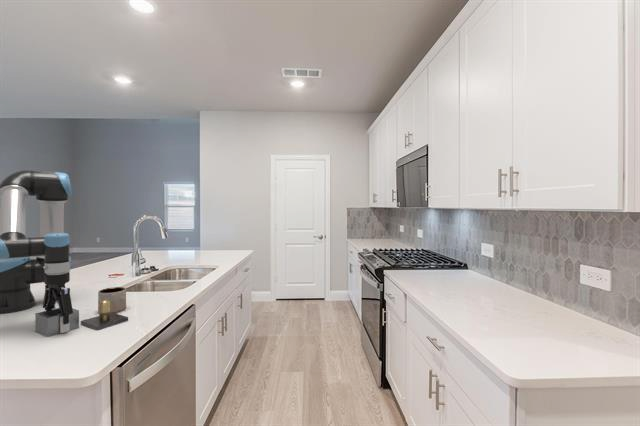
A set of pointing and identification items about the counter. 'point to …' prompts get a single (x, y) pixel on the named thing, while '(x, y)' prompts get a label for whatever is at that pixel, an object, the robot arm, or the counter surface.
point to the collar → (54, 321)
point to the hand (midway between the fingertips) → (57, 329)
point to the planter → (113, 298)
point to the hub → (104, 318)
